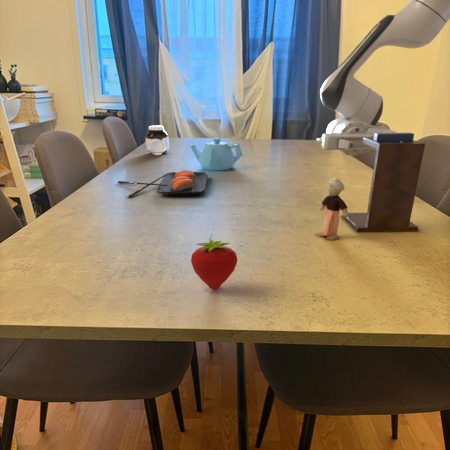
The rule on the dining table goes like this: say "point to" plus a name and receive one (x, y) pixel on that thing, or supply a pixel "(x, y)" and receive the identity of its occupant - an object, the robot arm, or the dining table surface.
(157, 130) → the spread jar
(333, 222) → the grandmother figurine
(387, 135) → the peg
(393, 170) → the stand
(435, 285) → the dining table surface
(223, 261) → the strawberry
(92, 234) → the dining table surface
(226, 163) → the teapot
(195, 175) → the sushi plate
